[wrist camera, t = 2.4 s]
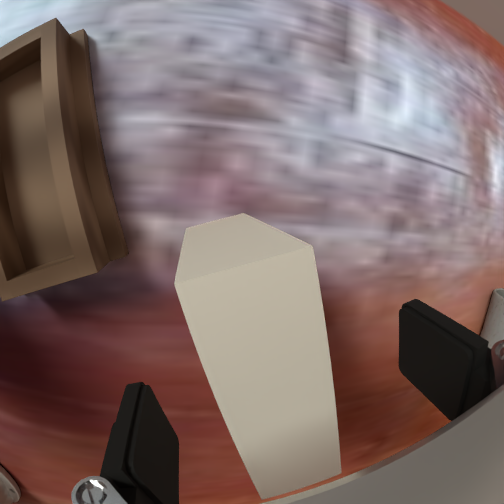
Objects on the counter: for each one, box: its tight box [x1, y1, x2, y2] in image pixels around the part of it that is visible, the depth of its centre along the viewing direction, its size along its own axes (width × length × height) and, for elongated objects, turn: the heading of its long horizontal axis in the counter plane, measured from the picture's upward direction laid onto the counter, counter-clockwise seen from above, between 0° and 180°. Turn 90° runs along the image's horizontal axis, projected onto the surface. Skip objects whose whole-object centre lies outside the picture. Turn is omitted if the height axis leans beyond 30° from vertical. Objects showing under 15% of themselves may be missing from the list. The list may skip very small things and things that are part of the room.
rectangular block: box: [174, 213, 341, 499], centre depth 14 cm, size 10×4×11 cm, turn 13°
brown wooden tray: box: [0, 18, 129, 301], centre depth 13 cm, size 15×9×4 cm, turn 14°
